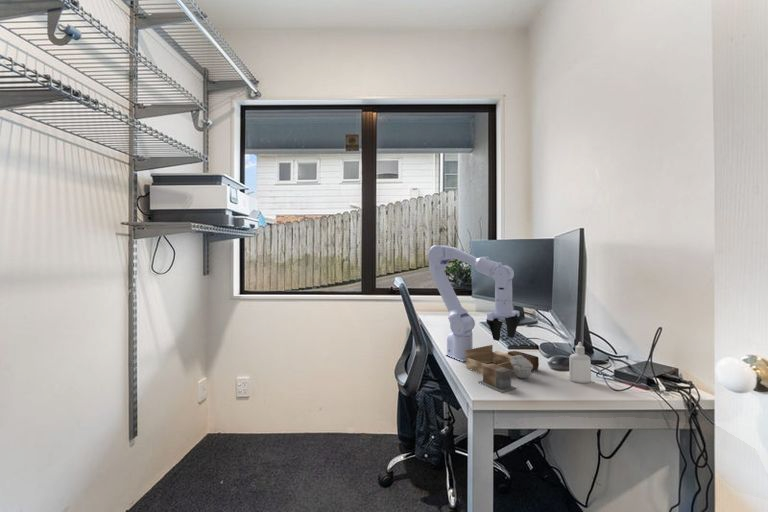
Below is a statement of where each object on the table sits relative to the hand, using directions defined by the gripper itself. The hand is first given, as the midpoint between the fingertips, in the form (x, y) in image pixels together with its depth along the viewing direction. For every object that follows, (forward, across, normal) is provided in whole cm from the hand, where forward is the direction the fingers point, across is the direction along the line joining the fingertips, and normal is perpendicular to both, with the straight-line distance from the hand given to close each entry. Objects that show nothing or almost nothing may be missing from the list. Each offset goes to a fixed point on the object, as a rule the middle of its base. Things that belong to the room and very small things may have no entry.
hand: (503, 338), depth 118 cm
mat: (+9, -16, -11) cm, 22 cm away
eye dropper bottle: (+10, +8, -22) cm, 25 cm away
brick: (+10, +4, -4) cm, 12 cm away
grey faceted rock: (+10, -5, -11) cm, 15 cm away
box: (+9, -16, -11) cm, 22 cm away
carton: (+9, -5, 0) cm, 11 cm away
